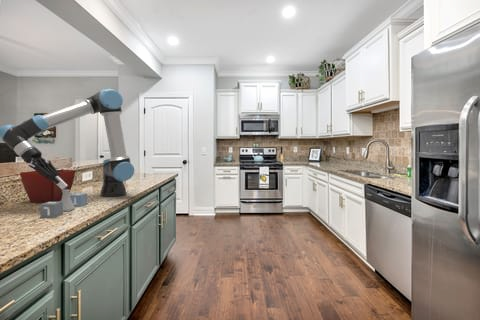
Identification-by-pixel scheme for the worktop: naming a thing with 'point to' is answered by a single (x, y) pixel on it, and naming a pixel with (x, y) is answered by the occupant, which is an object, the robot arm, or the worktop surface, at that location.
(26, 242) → the worktop surface
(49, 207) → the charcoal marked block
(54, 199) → the plant pot
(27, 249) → the worktop surface
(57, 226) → the worktop surface
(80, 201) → the slate-blue marked block
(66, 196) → the flask
